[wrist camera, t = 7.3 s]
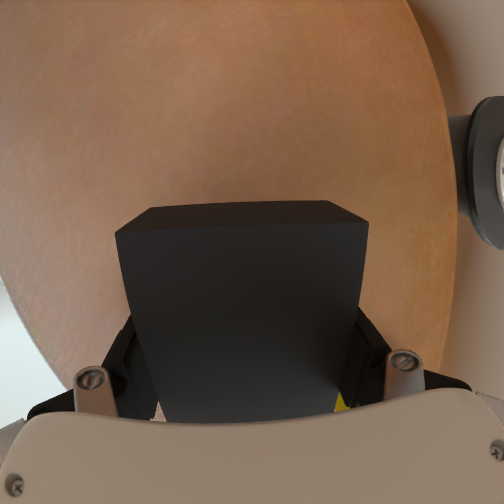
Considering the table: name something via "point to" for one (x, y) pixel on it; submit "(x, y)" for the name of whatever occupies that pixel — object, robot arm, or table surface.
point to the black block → (244, 305)
